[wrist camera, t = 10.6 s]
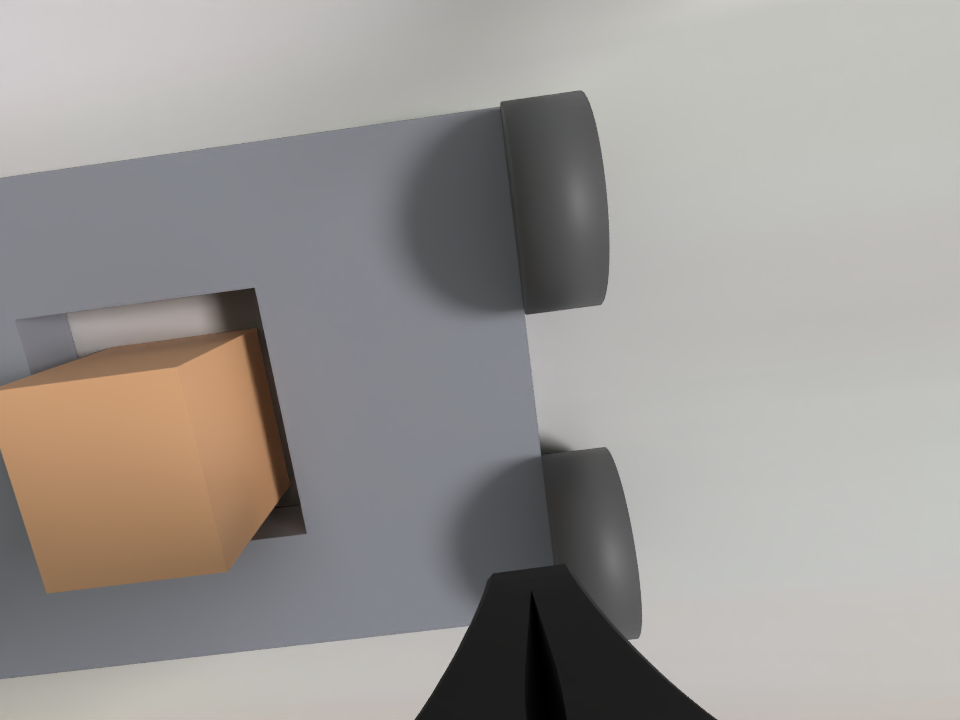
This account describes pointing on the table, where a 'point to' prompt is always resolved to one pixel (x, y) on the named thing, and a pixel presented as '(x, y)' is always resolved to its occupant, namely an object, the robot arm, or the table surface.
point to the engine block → (144, 460)
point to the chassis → (339, 372)
